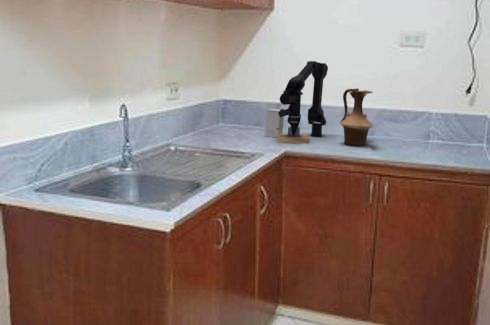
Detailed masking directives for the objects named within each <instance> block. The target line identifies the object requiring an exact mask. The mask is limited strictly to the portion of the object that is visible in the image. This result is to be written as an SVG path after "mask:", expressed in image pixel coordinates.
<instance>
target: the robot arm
mask: <svg viewBox="0 0 490 325" xmlns="http://www.w3.org/2000/svg"><path fill="white" fill-rule="evenodd" d="M328 70H329V66H328V65H327V64H326V63H325V62H318V61H316V60H314V61H313V60H308V61H307V62H306V65H304V66H303V68H302V69H301V70H300V71H299V73H298V74H297V75H295V76H292V77H291V78H289V80H288V82H287V85H286V87H285V88H284V90H283V93H281V95H280V97H279V102H280V104H282V105H284V106H285V105H288V107H287V108H282V109H279V110H280V111H279V112H278V114H279V117H280V118H281V117H283V116H284V117H285V116H288V117H287V123H288V124H289V125H290V127H291V130H292V135H295V133H296V130H297V128H298V127H299V125H300V122H301V120H302V119H301V118H302V114H301V107H302V105H301V104H302V102H301V100H302V96H303V95H304V93H303V92H302V90H303V89H305V88H304V87H305V85H306V81H307V79H308V78H309V77H310V75H312V77H313V80H314V81H313V90H312V102H311V103H312V104H311V107H310V108H308V110H307V123H308V125H311V132H310V137H311V136H312V137H323V126H326V125H327V120H326V117H325V115H324V109H323V106H322V100H323V99H322V98H323V88H324V80H325V79H326V76H327V75H328V74H327V73H328Z"/></svg>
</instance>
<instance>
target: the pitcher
mask: <svg viewBox="0 0 490 325" xmlns="http://www.w3.org/2000/svg"><path fill="white" fill-rule="evenodd" d="M348 93H349V94H350V96H351V97H352V98H353V100H354V102H353V109H352V111H351V112H352V113H351V114H350V116H349V117H348V118H347V113H348V112H349V111H348V110H349V108H348V100H347V96H348ZM369 94H374V93H373V91H372V90H360V89H359V88H348V89H346V90H344V92H343V95H342V100H343V105H344V106H343V107H344V114H343V117H342V119H340V121H339V122H338V123H339V124H340V125H341V126H342V128H343V134H344V138H343V139H344V144H345V145H349V146H354V147H355V146H356V147H360V146H361V147H364V146H366V145H367V140H368V139H367V138H368V134H369V131H370V128H372V127H374V126H375V125H374V124H373V123H372V122H371V121H370V120H368V119H366V117H365V116H364V114H363V113H364V111H363V102H364V99H365V97H366V96H367V95H369Z"/></svg>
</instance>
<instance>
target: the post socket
mask: <svg viewBox="0 0 490 325" xmlns="http://www.w3.org/2000/svg"><path fill="white" fill-rule="evenodd" d="M276 138H277V139H276V142H277V143H291V144H292V143H294V144H309V143H310V134H304V133H303V134H302V133H300V137H290V136H288V133H283V132H282V133H279V135H278V137H276Z"/></svg>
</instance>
